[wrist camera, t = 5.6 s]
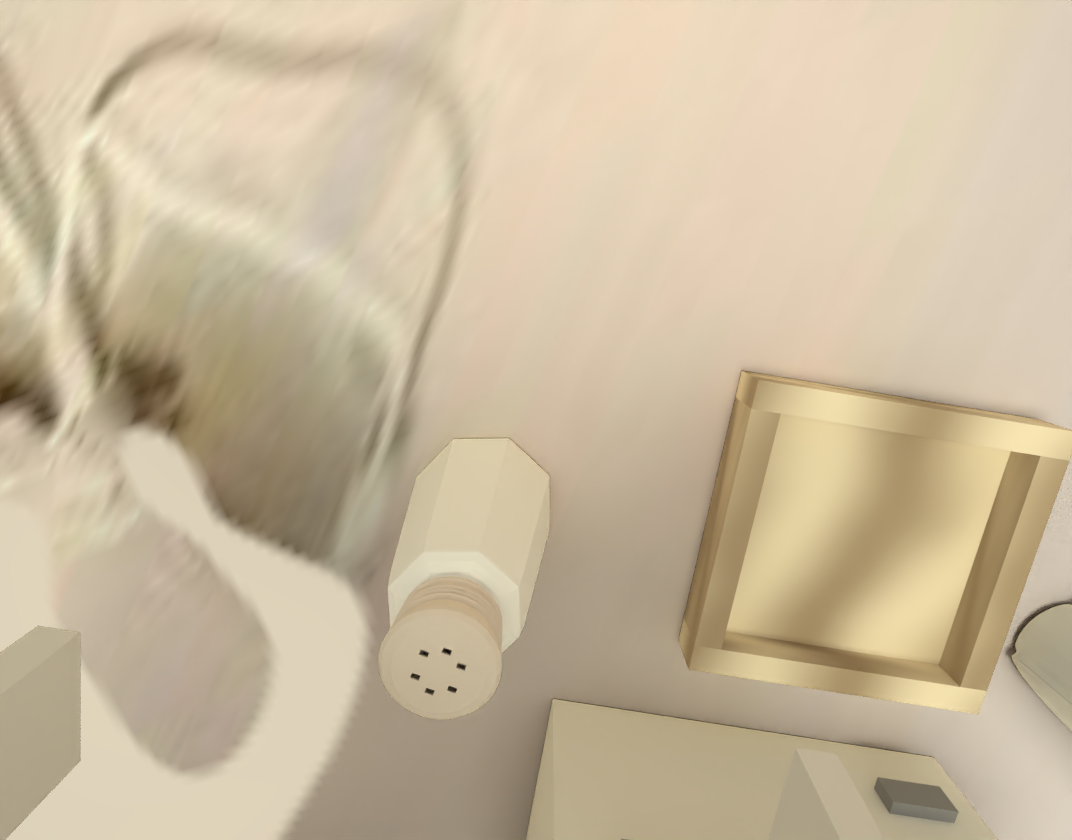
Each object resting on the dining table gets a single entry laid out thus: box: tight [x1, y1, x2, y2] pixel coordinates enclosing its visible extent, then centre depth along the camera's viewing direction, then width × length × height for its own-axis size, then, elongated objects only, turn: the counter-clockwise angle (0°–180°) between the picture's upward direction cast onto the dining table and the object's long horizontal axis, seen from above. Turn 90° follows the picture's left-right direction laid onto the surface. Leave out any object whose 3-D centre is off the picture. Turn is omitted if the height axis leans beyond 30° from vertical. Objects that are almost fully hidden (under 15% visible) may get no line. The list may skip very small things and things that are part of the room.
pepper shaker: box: [378, 438, 550, 719], centre depth 20 cm, size 5×5×11 cm
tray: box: [679, 371, 1072, 714], centre depth 25 cm, size 11×11×2 cm
